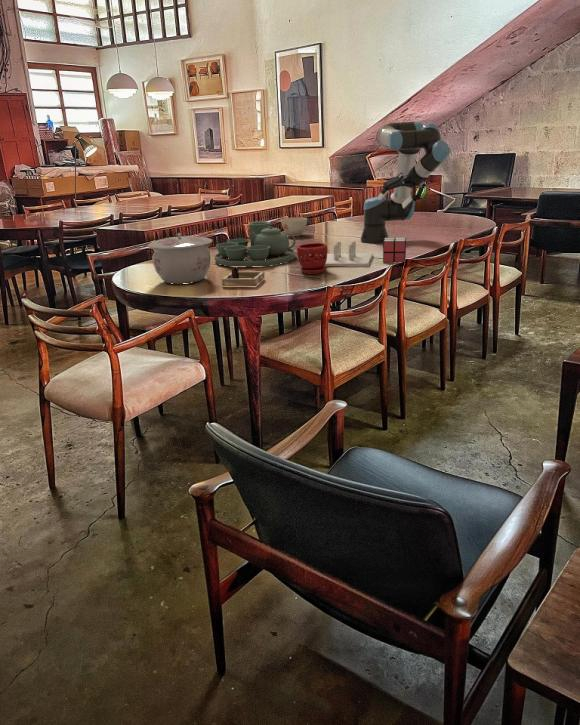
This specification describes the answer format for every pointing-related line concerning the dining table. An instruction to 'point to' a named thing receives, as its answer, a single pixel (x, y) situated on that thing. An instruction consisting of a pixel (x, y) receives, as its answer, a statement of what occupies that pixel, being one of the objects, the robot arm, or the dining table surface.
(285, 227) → the bowl
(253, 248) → the tea set
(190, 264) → the chamber pot
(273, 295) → the dining table surface
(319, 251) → the plant pot
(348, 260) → the standoff plate
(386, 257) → the puzzle cube
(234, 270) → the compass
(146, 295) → the dining table surface
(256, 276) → the watch display frame
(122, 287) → the dining table surface
